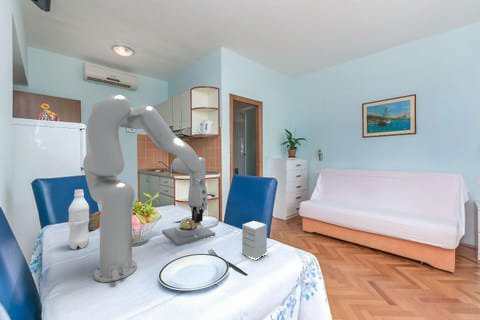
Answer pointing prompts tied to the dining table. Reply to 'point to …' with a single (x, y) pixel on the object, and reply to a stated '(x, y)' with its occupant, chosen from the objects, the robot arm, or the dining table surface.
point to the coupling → (190, 222)
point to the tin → (94, 221)
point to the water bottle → (78, 221)
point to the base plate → (186, 238)
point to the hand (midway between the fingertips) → (197, 220)
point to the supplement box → (254, 239)
